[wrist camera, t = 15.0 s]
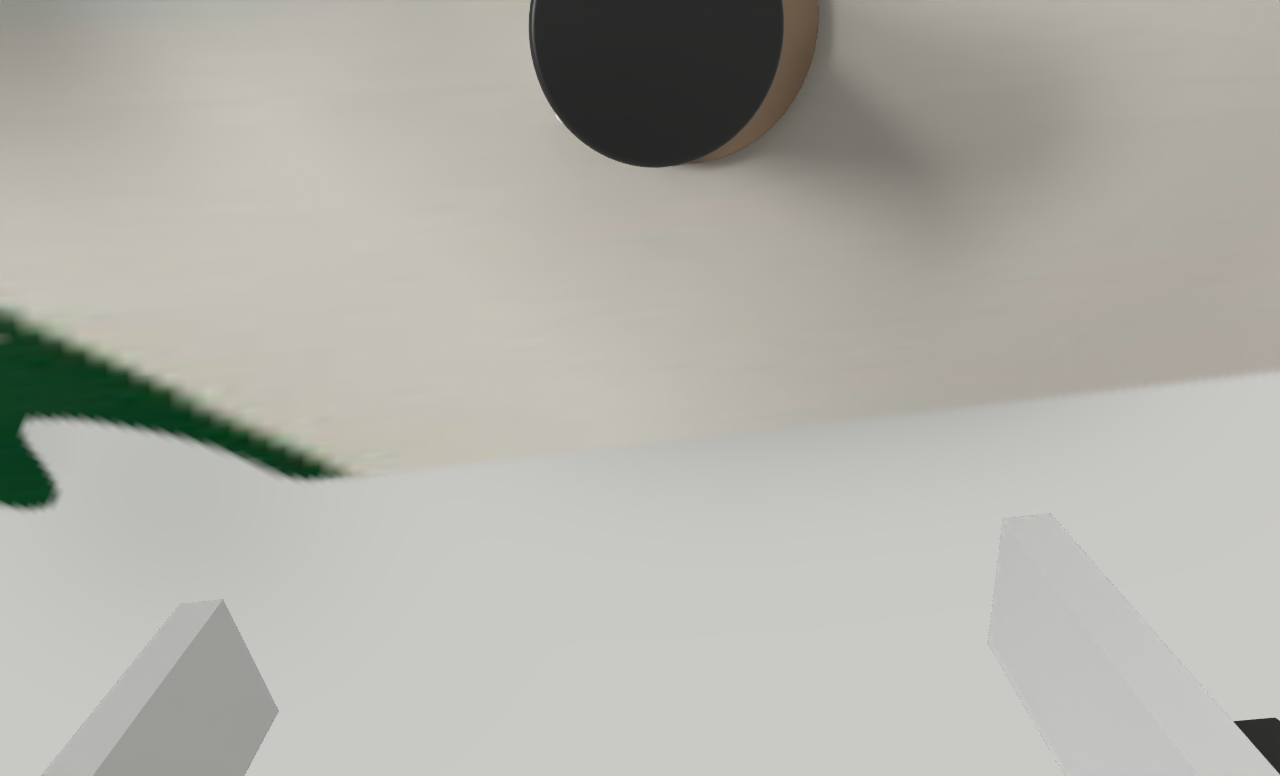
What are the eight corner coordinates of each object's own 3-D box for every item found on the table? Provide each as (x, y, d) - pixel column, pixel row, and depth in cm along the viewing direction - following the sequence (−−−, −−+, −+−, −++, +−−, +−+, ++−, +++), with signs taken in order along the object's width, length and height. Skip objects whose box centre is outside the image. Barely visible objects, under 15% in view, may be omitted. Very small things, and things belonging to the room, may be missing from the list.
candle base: (582, 174, 37) (581, 178, 36) (539, -102, 32) (536, -106, 31) (815, 144, 36) (820, 146, 35) (811, -143, 31) (816, -149, 30)
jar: (745, 125, 35) (793, 163, 24) (580, 149, 35) (557, 197, 25) (730, -91, 31) (780, -161, 20) (546, -61, 31) (499, -114, 21)
